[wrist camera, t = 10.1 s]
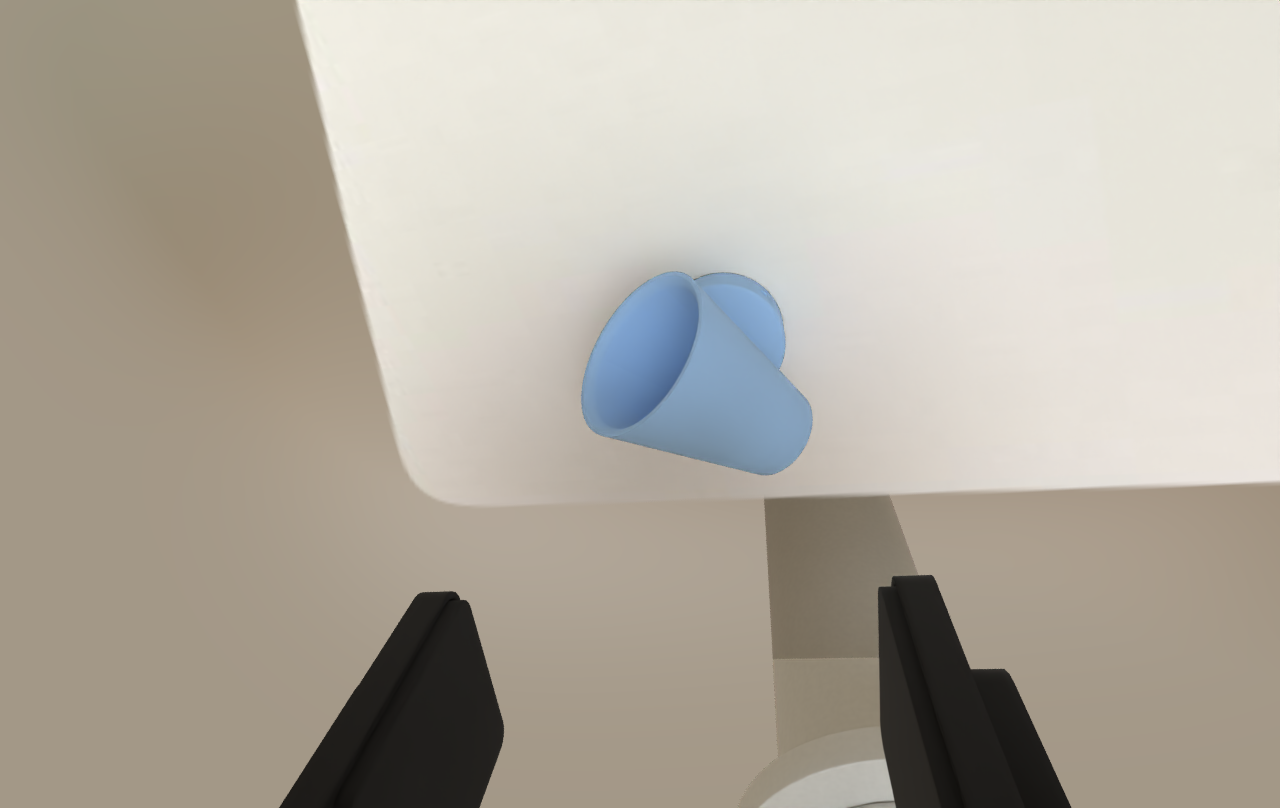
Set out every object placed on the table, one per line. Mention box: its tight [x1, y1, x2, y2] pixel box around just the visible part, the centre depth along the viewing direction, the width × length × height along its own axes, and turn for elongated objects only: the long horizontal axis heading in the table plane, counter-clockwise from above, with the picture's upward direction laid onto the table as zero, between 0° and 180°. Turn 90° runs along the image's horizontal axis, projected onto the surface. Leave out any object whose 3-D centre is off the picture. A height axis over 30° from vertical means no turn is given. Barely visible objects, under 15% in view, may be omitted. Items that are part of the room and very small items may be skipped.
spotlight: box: [581, 272, 813, 475], centre depth 22 cm, size 5×10×7 cm
